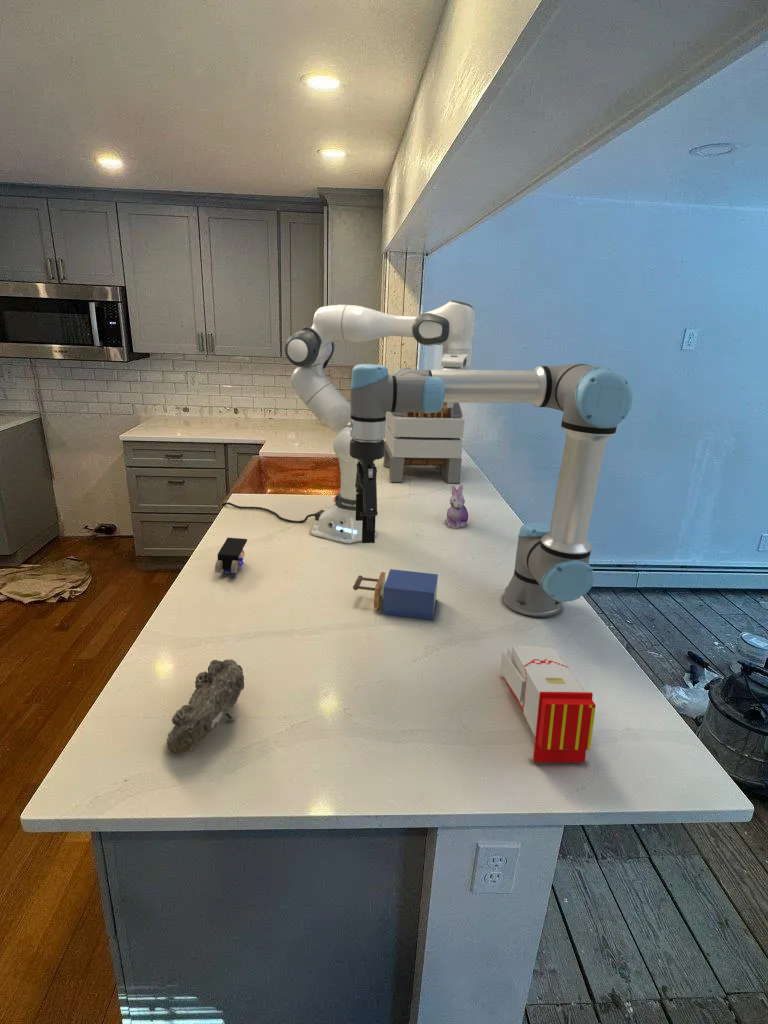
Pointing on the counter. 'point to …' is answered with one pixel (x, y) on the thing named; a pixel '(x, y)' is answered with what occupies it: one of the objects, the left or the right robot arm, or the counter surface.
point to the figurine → (457, 509)
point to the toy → (550, 702)
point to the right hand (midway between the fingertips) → (364, 531)
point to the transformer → (425, 442)
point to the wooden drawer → (377, 589)
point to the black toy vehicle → (230, 556)
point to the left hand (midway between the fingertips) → (452, 405)
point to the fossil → (206, 705)
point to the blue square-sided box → (410, 594)
